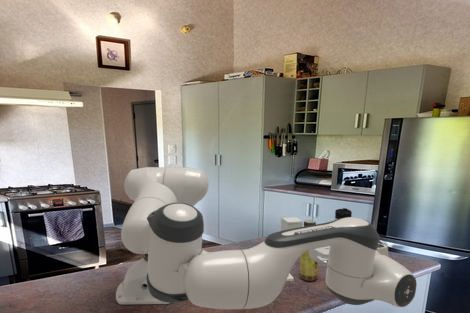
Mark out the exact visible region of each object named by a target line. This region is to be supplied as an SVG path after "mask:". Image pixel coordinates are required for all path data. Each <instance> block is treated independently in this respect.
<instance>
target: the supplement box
mask: <svg viewBox="0 0 470 313" xmlns="http://www.w3.org/2000/svg"><path fill="white" fill-rule="evenodd" d="M303 226H304V220H302V219H300V218H298V217H296V216H292V217H290V216H289V217H281V218H280V231H283V230H288V229H293V228H299V227H303Z"/></svg>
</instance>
